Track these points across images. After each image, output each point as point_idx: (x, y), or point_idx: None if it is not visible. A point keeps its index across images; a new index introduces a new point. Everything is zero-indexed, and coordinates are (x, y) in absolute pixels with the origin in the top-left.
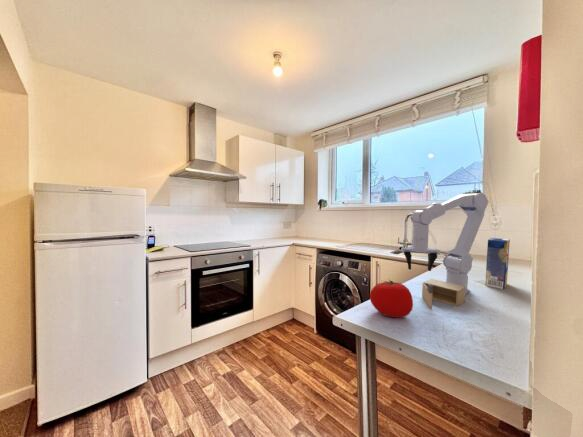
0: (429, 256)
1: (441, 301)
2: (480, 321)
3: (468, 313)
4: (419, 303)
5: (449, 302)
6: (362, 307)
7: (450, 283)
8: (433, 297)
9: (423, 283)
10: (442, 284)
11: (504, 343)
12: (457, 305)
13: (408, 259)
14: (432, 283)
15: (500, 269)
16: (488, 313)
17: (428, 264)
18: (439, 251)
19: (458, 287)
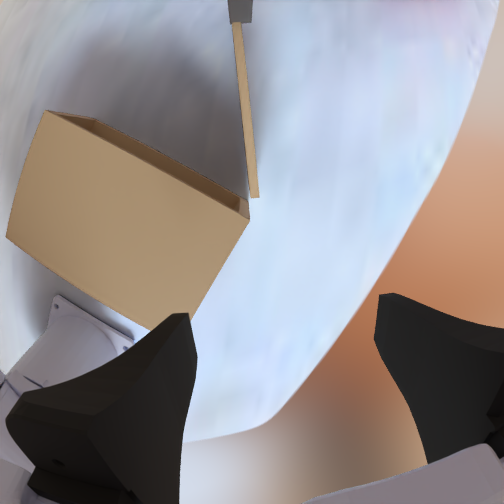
0: (153, 473)
1: (155, 150)
2: (66, 4)
3: (75, 55)
4: (284, 73)
5: (119, 132)
6: (488, 8)
7: (65, 269)
8: (190, 179)
9: (254, 183)
10: (111, 219)
11: None
12: (91, 118)
13: (483, 328)
14: (179, 215)
15: None
16: (11, 106)
17: (183, 393)
18: None
19: (32, 194)
